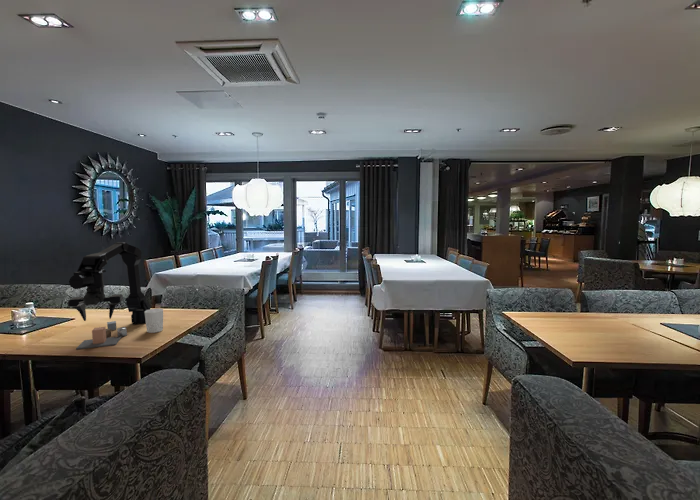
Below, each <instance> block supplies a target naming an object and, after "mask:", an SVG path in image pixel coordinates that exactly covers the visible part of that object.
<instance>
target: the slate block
mask: <svg viewBox="0 0 700 500" xmlns="http://www.w3.org/2000/svg"><path fill="white" fill-rule="evenodd" d="M106 325H107V327H106V328H107V329H111V331H115V330H116V329H118V328H117V321H116V320H114V321H113V320H112V321H107V322H106ZM116 331H117V330H116Z"/></svg>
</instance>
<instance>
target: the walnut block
mask: <svg viewBox="0 0 700 500" xmlns="http://www.w3.org/2000/svg"><path fill="white" fill-rule="evenodd" d="M109 337H112V330H111V329H108V328H106V338H109Z"/></svg>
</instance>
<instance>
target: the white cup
mask: <svg viewBox="0 0 700 500" xmlns="http://www.w3.org/2000/svg"><path fill="white" fill-rule="evenodd" d="M145 321H146V323H145V326H146V332H147V333H149V334H151V333H152V334H155V333H161V332H162V331H163V330H164V309H163V308H150V309H149V310H146V311H145Z"/></svg>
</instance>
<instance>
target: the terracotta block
mask: <svg viewBox="0 0 700 500" xmlns="http://www.w3.org/2000/svg"><path fill="white" fill-rule="evenodd" d="M106 329H107V327H106V326H99V327H94V328H93V329H92V330H91V333H92V335H91V336H92V339H93V344H98V343H104V342H105V341H106Z"/></svg>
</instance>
